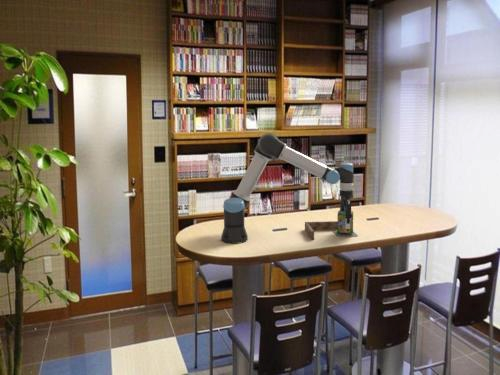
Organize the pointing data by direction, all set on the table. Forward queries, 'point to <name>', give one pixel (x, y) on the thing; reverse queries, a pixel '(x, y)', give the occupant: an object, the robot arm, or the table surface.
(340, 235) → the pad
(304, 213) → the table surface
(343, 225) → the chalk box
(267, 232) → the table surface
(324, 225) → the wooden corner wall
